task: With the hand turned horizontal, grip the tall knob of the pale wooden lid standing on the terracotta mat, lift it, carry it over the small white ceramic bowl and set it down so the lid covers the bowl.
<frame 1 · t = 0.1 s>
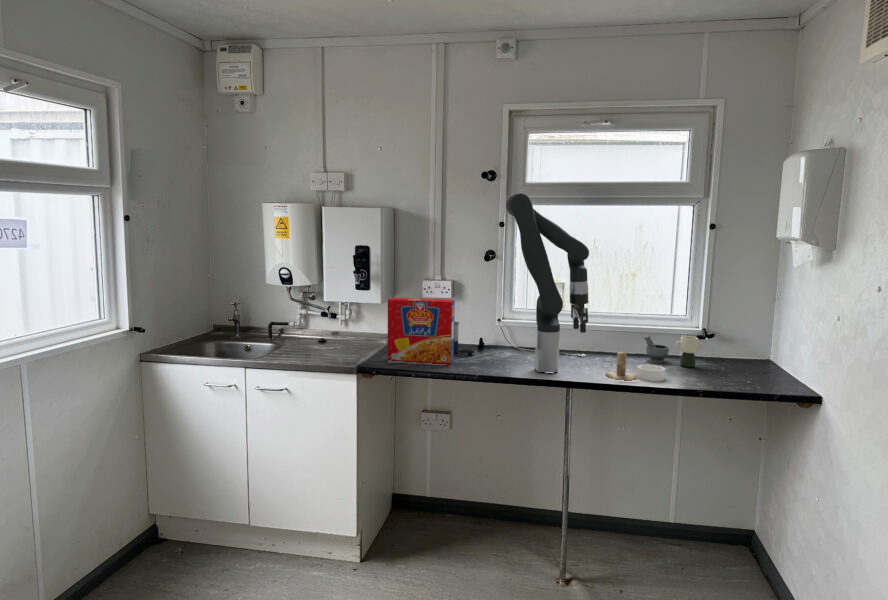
hand: (579, 330, 235), 17 cm above the table, tool pointing down, fingers open, 8 cm apart
pasta box: (420, 363, 247), on the table
milk frother: (456, 354, 266), on the table
mat: (620, 378, 226), on the table
bowl: (650, 378, 226), on the table
character mug: (687, 367, 247), on the table
lid: (620, 377, 226), resting on mat
mortar and pestle: (655, 361, 256), on the table
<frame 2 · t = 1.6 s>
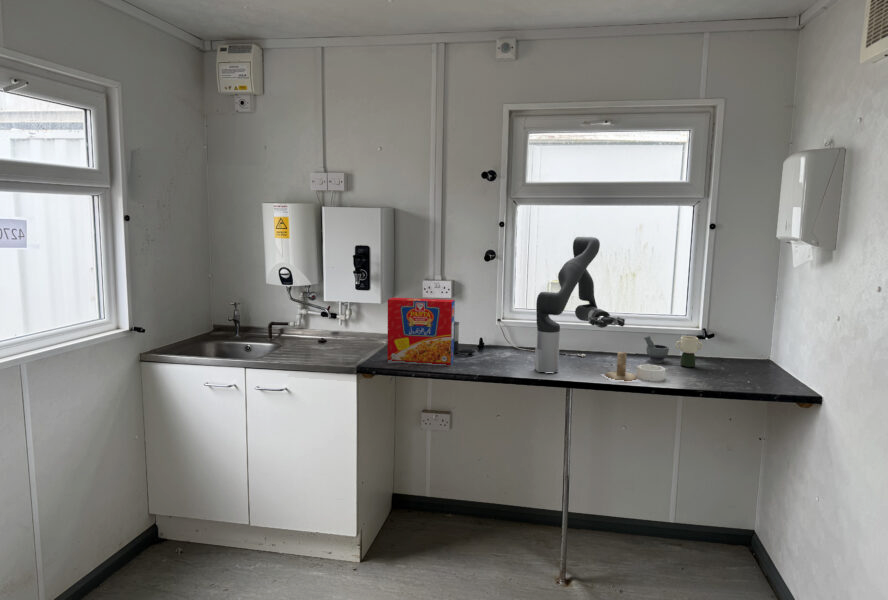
hand: (612, 324, 234), 20 cm above the table, tool horizontal, fingers open, 8 cm apart
nothing on the table moved.
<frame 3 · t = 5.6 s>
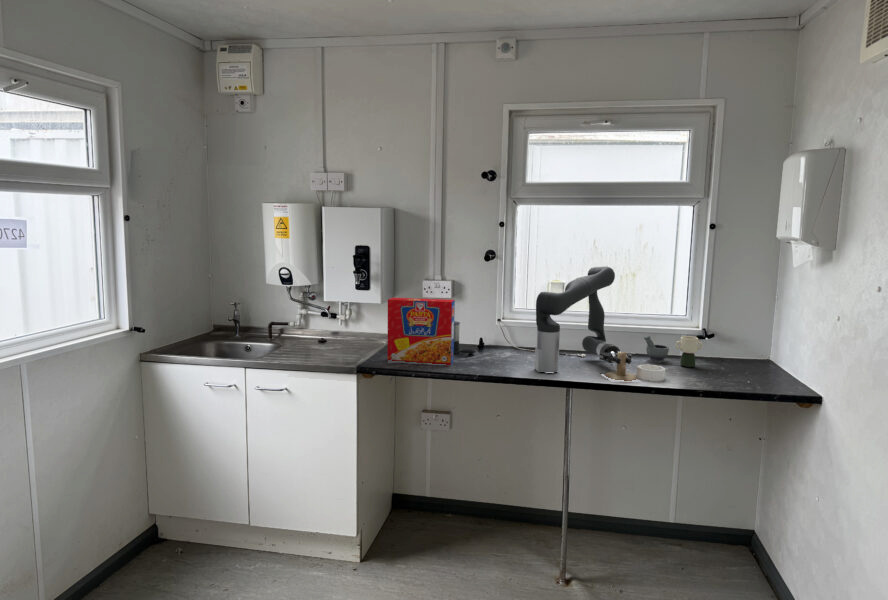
hand: (624, 361, 222), 8 cm above the table, tool horizontal, fingers closed on lid, 3 cm apart
lid: (620, 377, 226), resting on mat, touching gripper
everything else where it was.
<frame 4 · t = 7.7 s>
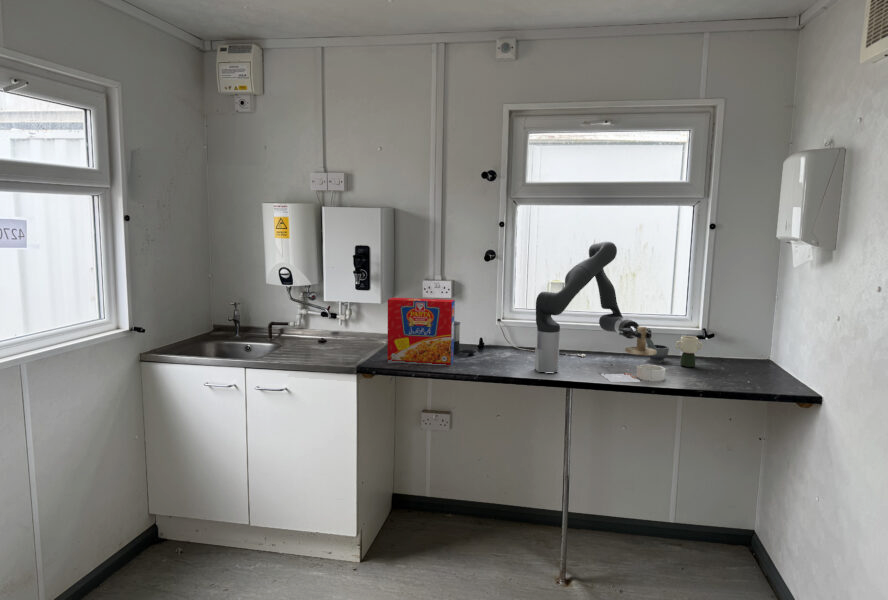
hand: (645, 335, 222), 18 cm above the table, tool horizontal, fingers closed on lid, 3 cm apart
lid: (640, 351, 225), point 11 cm above the table, touching gripper
everything else where it was.
when the fingers open (12 cm above the table, at t = 9.3 s): lid stays where it is, resting on bowl.
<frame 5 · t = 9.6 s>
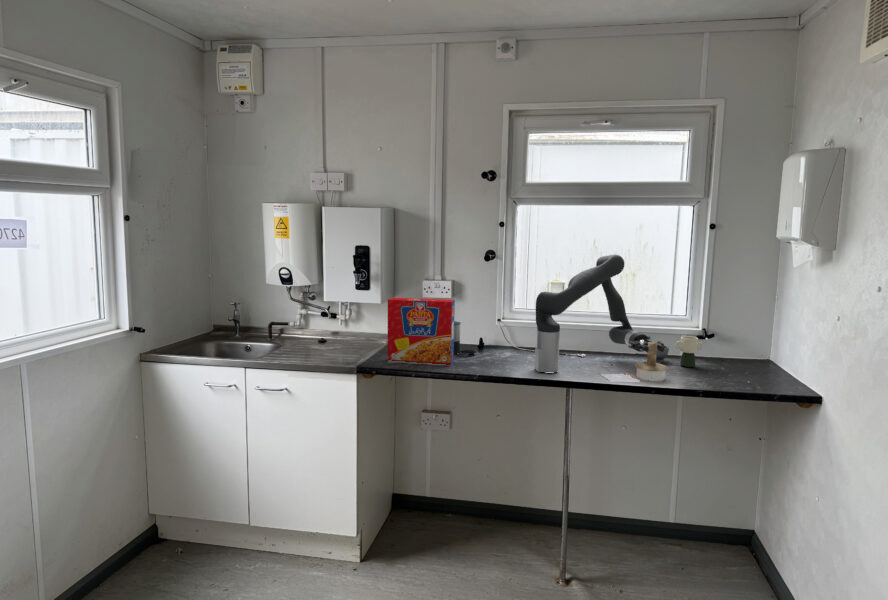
hand: (655, 349, 222), 13 cm above the table, tool horizontal, fingers open, 5 cm apart
lid: (651, 367, 226), point 4 cm above the table, touching bowl
everything else where it was.
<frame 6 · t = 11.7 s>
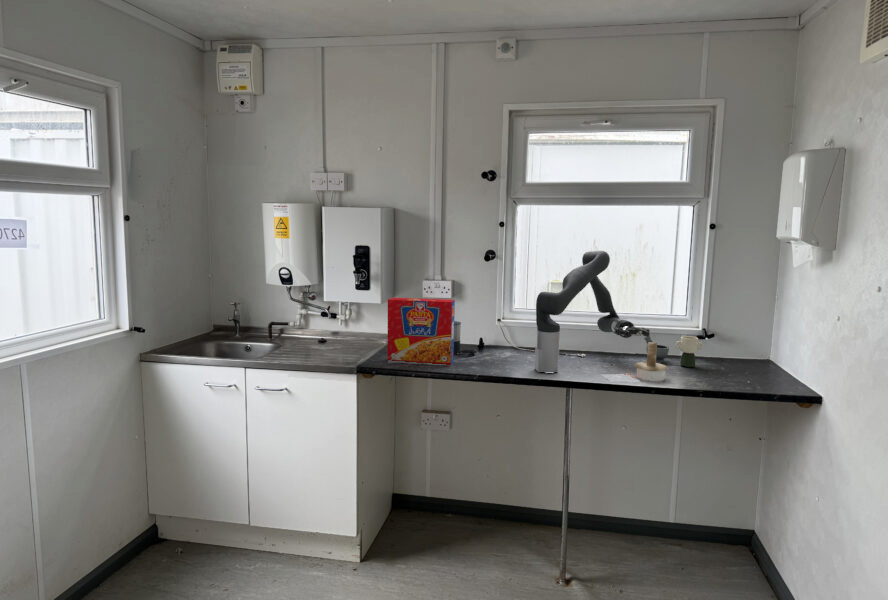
hand: (638, 334, 236), 16 cm above the table, tool horizontal, fingers open, 8 cm apart
nothing on the table moved.
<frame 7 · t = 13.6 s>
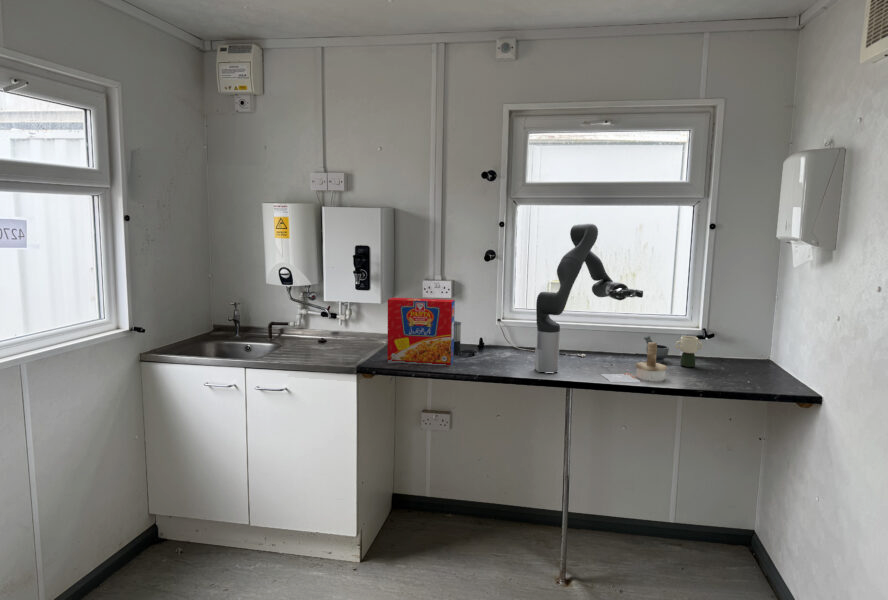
hand: (631, 295, 237), 32 cm above the table, tool horizontal, fingers open, 8 cm apart
at the end: lid 0.1 cm off-centre on the bowl, point 4.5 cm above the bowl's base; lid tilted 0°; the gripper is holding nothing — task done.
